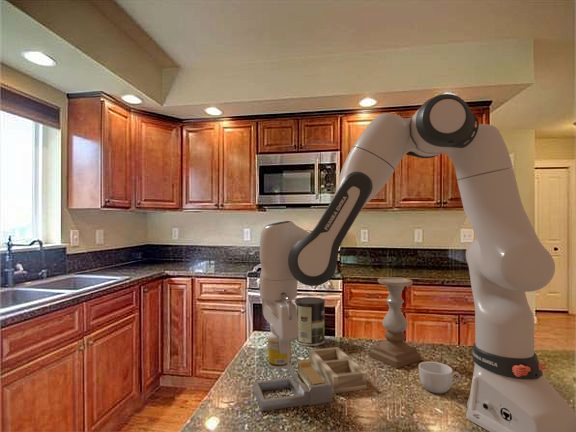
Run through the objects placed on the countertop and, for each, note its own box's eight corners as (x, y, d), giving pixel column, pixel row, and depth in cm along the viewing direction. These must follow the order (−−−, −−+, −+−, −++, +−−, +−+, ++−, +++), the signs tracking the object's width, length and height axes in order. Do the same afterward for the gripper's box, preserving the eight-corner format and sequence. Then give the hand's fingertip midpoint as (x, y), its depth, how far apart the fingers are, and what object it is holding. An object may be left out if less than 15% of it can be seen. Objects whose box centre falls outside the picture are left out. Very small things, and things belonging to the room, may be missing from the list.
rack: (366, 388, 88) (366, 372, 89) (333, 393, 86) (333, 377, 86) (337, 360, 106) (337, 347, 106) (309, 363, 103) (309, 350, 103)
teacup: (424, 396, 85) (424, 373, 85) (414, 381, 93) (414, 360, 93) (467, 397, 84) (467, 375, 84) (454, 382, 92) (454, 362, 92)
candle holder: (368, 356, 109) (368, 278, 109) (392, 348, 115) (392, 275, 115) (397, 369, 100) (397, 284, 100) (421, 360, 106) (421, 280, 106)
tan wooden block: (325, 399, 83) (325, 379, 83) (313, 401, 82) (313, 380, 82) (308, 377, 95) (308, 359, 95) (297, 378, 94) (297, 360, 94)
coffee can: (323, 336, 128) (323, 296, 128) (326, 346, 117) (326, 303, 117) (294, 335, 128) (295, 296, 128) (294, 346, 117) (295, 303, 117)
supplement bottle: (278, 358, 88) (277, 318, 88) (295, 363, 85) (295, 322, 85) (263, 365, 84) (262, 324, 84) (280, 371, 80) (280, 328, 80)
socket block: (332, 401, 82) (332, 384, 82) (261, 412, 78) (261, 394, 78) (304, 365, 102) (304, 351, 102) (246, 372, 97) (246, 358, 97)
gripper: (305, 297, 75) (306, 363, 75) (280, 281, 95) (281, 333, 95) (276, 300, 73) (277, 366, 73) (257, 282, 93) (258, 335, 93)
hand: (279, 347), depth 84 cm, fingers closed on supplement bottle, 5 cm apart
